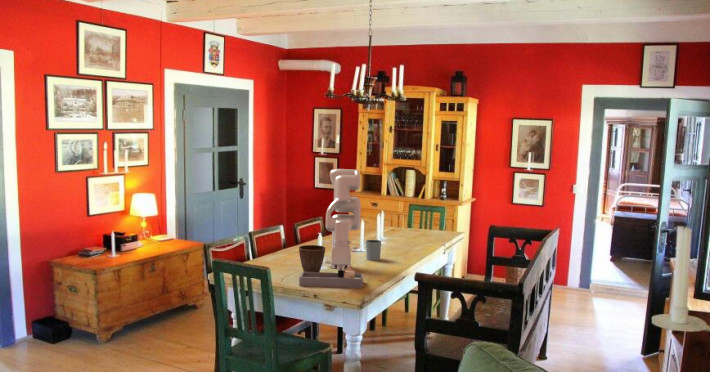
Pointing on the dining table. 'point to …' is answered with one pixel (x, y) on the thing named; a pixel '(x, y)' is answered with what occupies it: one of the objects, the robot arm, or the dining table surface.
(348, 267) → the sunglasses case
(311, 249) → the plant pot
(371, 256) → the grey tapered cup
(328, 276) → the eyeshadow palette tray
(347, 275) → the maple block
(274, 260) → the dining table surface
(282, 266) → the dining table surface
